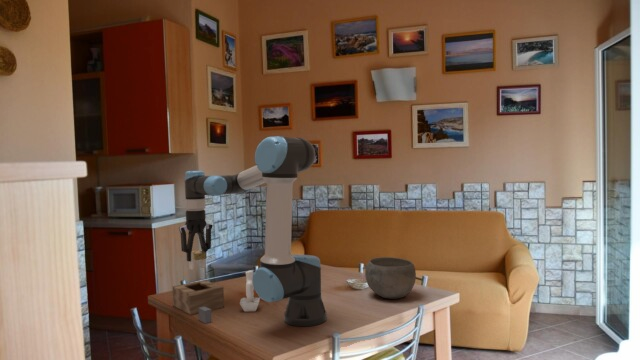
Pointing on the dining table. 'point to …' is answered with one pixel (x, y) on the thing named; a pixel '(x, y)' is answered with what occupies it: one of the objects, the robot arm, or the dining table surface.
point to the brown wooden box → (198, 296)
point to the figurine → (249, 294)
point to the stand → (205, 314)
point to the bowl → (390, 276)
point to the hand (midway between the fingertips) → (196, 268)
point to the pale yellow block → (198, 255)
